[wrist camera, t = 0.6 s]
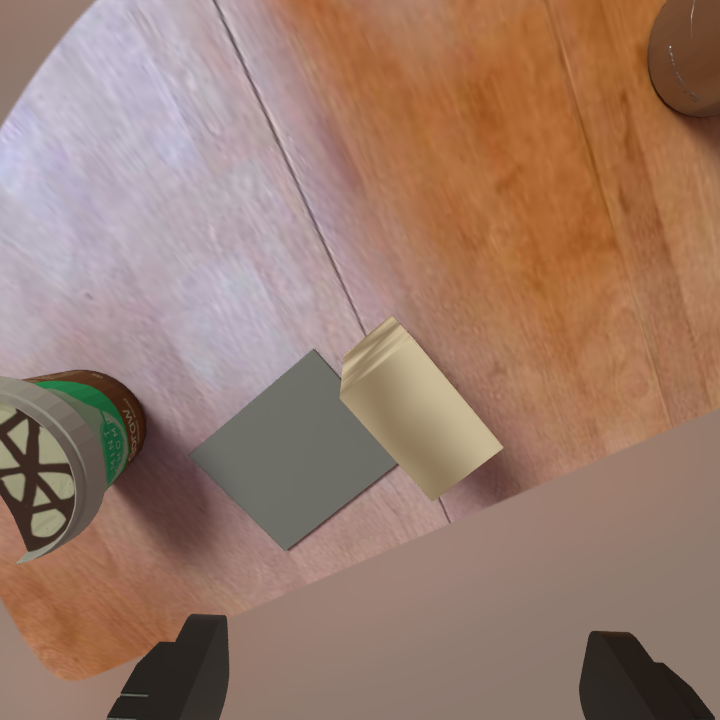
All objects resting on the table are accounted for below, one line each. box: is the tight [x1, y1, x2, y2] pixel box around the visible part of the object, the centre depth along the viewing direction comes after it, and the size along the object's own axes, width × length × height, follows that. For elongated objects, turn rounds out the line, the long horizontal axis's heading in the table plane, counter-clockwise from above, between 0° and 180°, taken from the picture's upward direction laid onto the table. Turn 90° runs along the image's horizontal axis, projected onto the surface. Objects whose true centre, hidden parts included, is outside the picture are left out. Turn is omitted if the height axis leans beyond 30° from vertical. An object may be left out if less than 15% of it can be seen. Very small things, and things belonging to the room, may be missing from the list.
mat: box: [189, 349, 397, 551], centre depth 35 cm, size 14×12×1 cm
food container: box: [0, 370, 146, 564], centre depth 30 cm, size 12×6×10 cm, turn 12°
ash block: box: [340, 315, 504, 502], centre depth 28 cm, size 5×8×12 cm, turn 40°
